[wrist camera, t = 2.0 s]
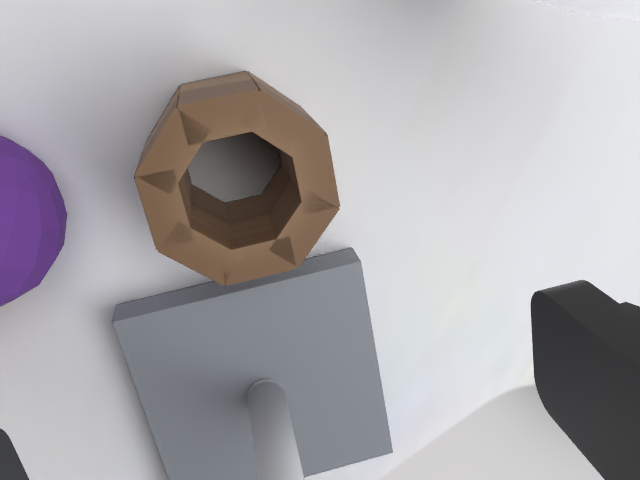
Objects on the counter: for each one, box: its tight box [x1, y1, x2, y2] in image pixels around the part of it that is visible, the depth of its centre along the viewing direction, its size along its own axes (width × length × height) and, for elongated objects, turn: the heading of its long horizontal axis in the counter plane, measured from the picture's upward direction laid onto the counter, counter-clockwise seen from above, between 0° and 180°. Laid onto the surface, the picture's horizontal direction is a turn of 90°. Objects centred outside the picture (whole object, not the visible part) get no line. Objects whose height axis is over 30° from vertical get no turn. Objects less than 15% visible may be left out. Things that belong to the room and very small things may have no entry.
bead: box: [134, 71, 340, 286], centre depth 21 cm, size 6×6×5 cm
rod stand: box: [112, 248, 393, 480], centre depth 23 cm, size 10×10×11 cm
